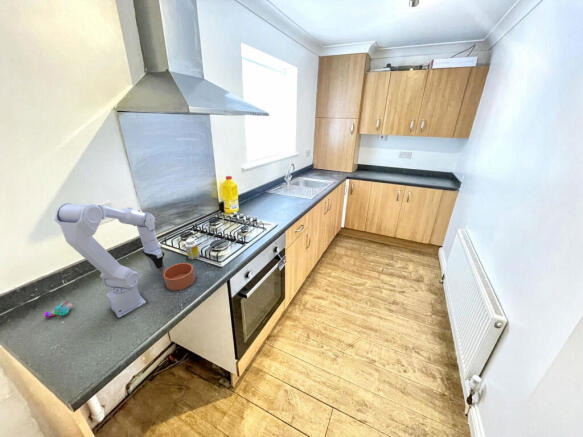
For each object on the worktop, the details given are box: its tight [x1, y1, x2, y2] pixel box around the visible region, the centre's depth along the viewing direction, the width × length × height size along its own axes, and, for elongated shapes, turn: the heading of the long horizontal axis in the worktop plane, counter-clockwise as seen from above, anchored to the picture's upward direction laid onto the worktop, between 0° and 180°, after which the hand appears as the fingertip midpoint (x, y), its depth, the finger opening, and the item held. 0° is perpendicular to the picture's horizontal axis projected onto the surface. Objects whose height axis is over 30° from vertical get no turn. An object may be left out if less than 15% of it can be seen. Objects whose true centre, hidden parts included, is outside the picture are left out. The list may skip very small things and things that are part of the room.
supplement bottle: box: [184, 237, 200, 260], centre depth 118 cm, size 6×6×10 cm
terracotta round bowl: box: [162, 262, 196, 291], centre depth 102 cm, size 12×12×6 cm
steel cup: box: [146, 254, 165, 274], centre depth 104 cm, size 5×5×8 cm
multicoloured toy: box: [43, 301, 73, 318], centre depth 86 cm, size 5×8×7 cm
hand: (157, 265), depth 104 cm, fingers closed on steel cup, 5 cm apart
